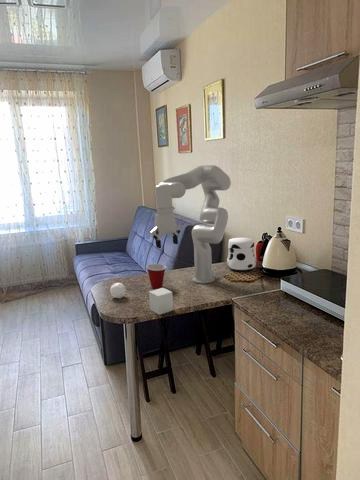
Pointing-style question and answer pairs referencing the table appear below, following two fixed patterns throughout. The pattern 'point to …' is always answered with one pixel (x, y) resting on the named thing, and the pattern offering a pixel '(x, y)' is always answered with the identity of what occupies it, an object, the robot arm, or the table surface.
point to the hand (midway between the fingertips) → (167, 245)
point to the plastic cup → (156, 275)
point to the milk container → (241, 254)
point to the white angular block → (161, 301)
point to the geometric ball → (117, 290)
